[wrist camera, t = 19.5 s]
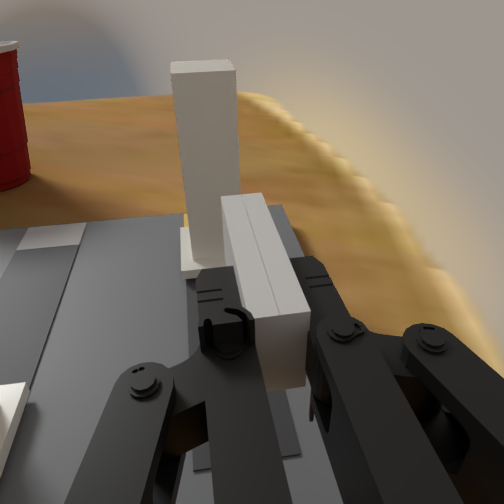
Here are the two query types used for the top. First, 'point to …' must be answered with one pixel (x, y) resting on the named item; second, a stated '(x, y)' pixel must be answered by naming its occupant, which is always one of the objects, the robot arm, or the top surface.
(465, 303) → the top surface
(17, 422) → the slider
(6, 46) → the plastic cup
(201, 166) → the slider
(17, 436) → the grey base board
